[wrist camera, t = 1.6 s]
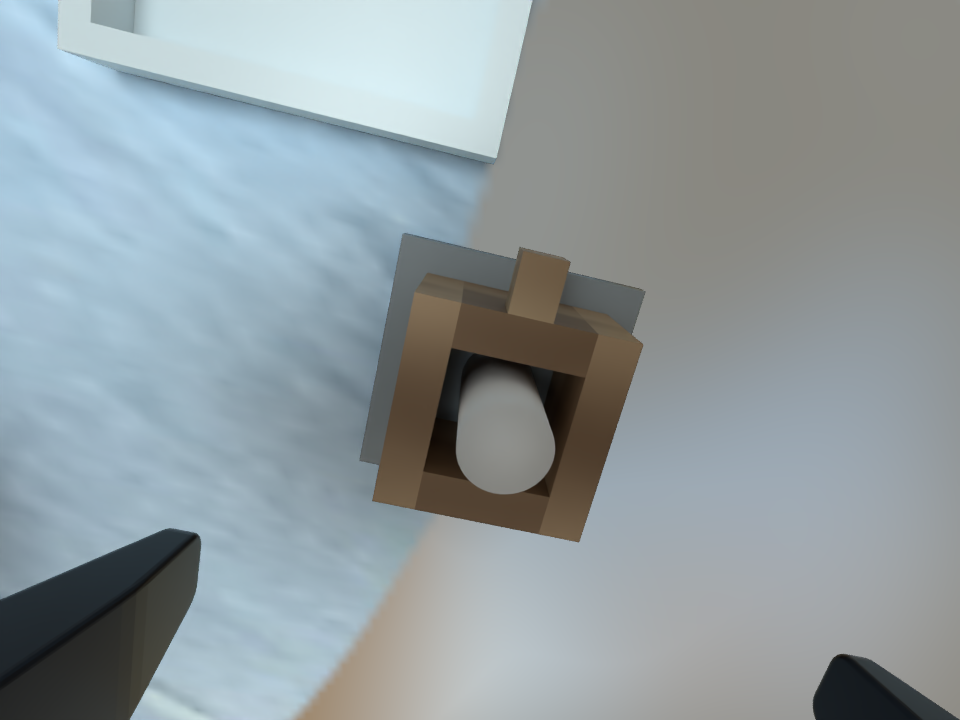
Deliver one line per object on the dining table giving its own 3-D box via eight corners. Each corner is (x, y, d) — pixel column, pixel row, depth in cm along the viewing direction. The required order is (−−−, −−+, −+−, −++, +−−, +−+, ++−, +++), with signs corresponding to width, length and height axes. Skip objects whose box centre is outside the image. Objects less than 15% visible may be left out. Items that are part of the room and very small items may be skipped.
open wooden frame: (558, 475, 20) (579, 542, 16) (392, 441, 19) (372, 501, 15) (621, 266, 18) (662, 283, 14) (438, 222, 17) (427, 227, 13)
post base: (574, 496, 20) (615, 614, 15) (362, 453, 20) (316, 557, 14) (640, 288, 18) (718, 328, 12) (405, 233, 18) (370, 247, 12)
